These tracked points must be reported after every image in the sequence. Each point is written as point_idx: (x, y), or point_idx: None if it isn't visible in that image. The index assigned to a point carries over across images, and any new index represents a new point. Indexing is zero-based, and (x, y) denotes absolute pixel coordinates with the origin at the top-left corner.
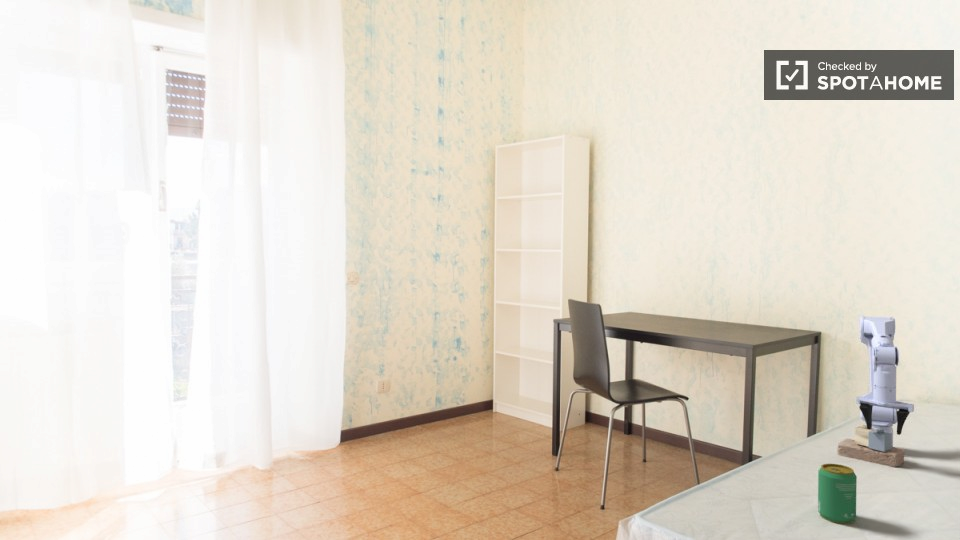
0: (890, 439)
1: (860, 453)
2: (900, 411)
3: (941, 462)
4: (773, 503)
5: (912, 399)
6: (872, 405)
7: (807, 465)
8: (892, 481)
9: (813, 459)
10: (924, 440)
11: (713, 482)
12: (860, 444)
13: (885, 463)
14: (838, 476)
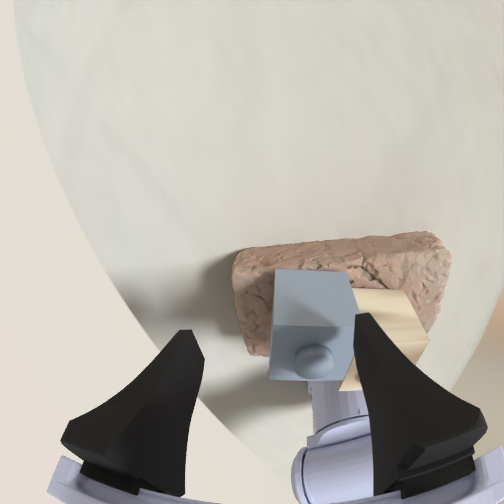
0: (270, 347)
1: (368, 248)
2: (103, 463)
3: None
4: None
5: None
6: (370, 497)
7: (446, 20)
8: (167, 74)
9: (468, 106)
10: (289, 447)
11: None
12: (383, 290)
13: (273, 247)
14: None
